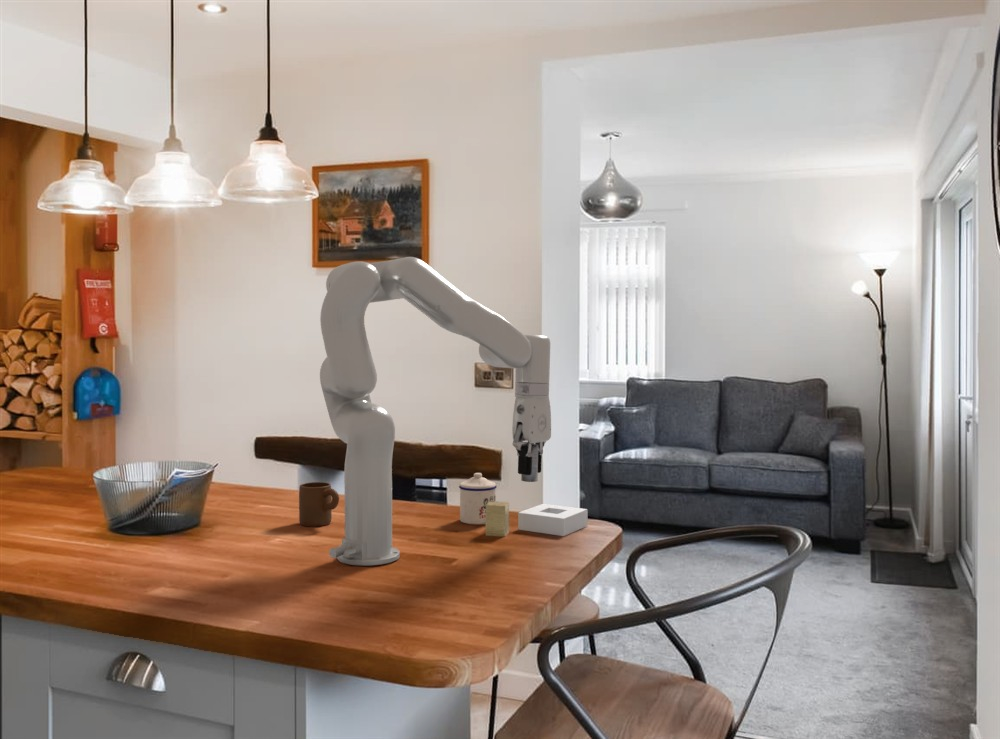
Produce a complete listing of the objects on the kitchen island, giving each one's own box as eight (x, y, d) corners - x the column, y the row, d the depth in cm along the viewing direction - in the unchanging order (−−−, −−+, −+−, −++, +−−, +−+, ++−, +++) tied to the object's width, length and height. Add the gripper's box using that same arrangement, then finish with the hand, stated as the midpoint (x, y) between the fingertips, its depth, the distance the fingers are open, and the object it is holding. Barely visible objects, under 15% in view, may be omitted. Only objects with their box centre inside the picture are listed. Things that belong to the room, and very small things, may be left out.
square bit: (505, 536, 195) (505, 505, 195) (485, 535, 196) (485, 505, 196) (509, 532, 200) (509, 501, 199) (489, 531, 201) (489, 501, 200)
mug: (350, 525, 205) (350, 486, 205) (324, 531, 200) (324, 491, 199) (318, 518, 213) (317, 480, 213) (292, 524, 207) (292, 485, 207)
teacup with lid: (484, 526, 205) (484, 477, 204) (451, 522, 209) (451, 474, 209) (508, 517, 215) (509, 470, 215) (477, 513, 220) (477, 467, 219)
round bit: (532, 482, 190) (533, 446, 190) (518, 480, 192) (519, 444, 191) (540, 480, 193) (541, 444, 193) (526, 478, 195) (527, 443, 195)
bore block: (564, 536, 196) (564, 518, 196) (518, 529, 202) (518, 512, 202) (587, 525, 206) (587, 509, 206) (543, 519, 212) (543, 503, 212)
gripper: (528, 393, 183) (525, 479, 183) (564, 390, 197) (561, 470, 197) (497, 391, 187) (495, 475, 187) (535, 388, 201) (533, 467, 201)
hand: (529, 472), depth 192 cm, fingers closed on round bit, 3 cm apart
